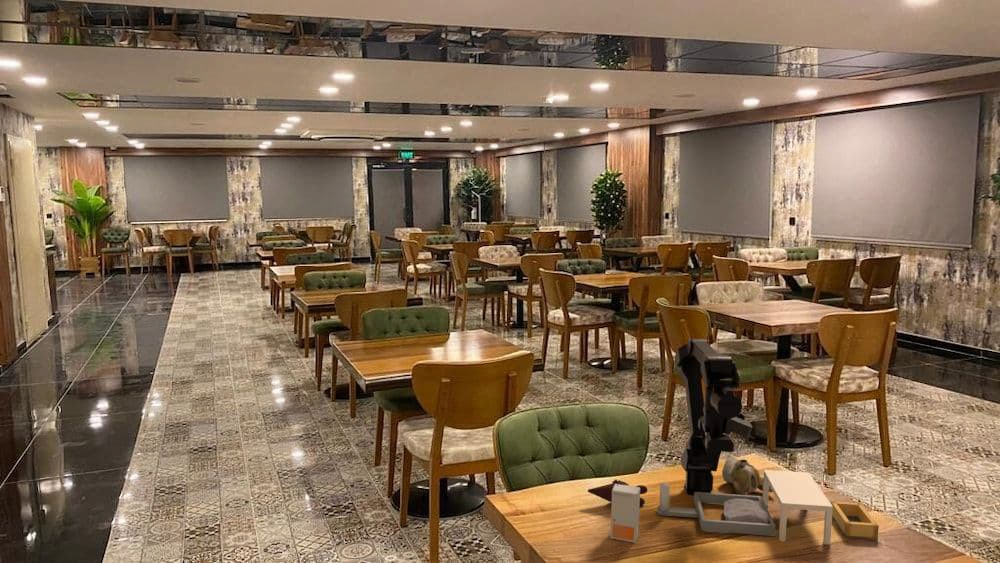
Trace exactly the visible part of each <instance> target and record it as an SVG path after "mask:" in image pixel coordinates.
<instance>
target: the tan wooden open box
mask: <svg viewBox="0 0 1000 563" xmlns="http://www.w3.org/2000/svg"><path fill="white" fill-rule="evenodd" d="M830 503H831V505H832V506H833V510H832V521H834V523H835V525H836V526H837V528H838V529H839V531H840V532H841V534H842V535H843V536H844V538H845V539H853V540H854V539H856V540H868V541H879V539H878V538H879V528H880V527H879V524H878V523H877V521H876V520H875V518H873V517H872V515H871V514H870V513H869V512H868V510H867V509H866V508H865V506H864V505H863V504H862V503H861V502H860V503H859V502H845V501H844V502H843V501H830Z"/></svg>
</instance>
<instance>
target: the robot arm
mask: <svg viewBox="0 0 1000 563" xmlns="http://www.w3.org/2000/svg"><path fill="white" fill-rule="evenodd" d="M674 365H675V367H676V368H677V375H678V376H679V377H680V379H681V380H682V381H683V382H684V388H685V397H686V406H687V407H686V408H687V418H688V426H689V436H688V438H687V441H686V442H685V445H684V450H683V452H682V454H681V456H680V465H681V467H682V469H683V470H684V471H685V483H684V489H685V493H686V494H687V495H694V492H705V493H712V491H713V490H714V475H713V473H712V472H717V471H718V467H719V461H720V456H721V455H722V452H725V453H733V452H735V443H734V441H733V439H732V438H731V437H730V436H729V435H731V432H732V433H733V434H736V435H738V436H740V437H742V438H743V439H746V440H747V439H748V438H749V436H750V434H751V433H752V430H753V425H752V424H751V422H749V420H748V419H746V418H745V414H744V413H742V409H743V405H742V401H741V399H740V398H739V397H738V396H737V395H736V394H735V390H734V389H735V388H736V389H739V388H740V387H739V386H740V381H741V379H740V376H739V372H738V368H737V365H736V362H735V360H733V358H732V357H731V356H730V355H728V354H724V353H718V352H717V351H716V350H715V349H714V348H713V347H712V346H711V345H710V344H709V340H708V339H705V338H691V339H688V340H687V342H686V343H685V344H683V345H682V346H680V347H678V348H677V350H676V352H675V355H674ZM702 380H703V381H702ZM703 383H704V386H705V387H704V388H703ZM703 389H704V390H703ZM703 391H704V392H703Z"/></svg>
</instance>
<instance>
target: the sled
mask: <svg viewBox="0 0 1000 563" xmlns="http://www.w3.org/2000/svg"><path fill="white" fill-rule="evenodd" d="M670 493H671V484H670V483H668V482H660V485H659V501H658V502H659V503H658V504H659V505H658V506H657V514H658V516H666V517H667V516H668V517H682V518H695V519H696V518H698V521H699V525H700V529H701V531H702V532H715V533H727V534H729V533H730V534H741V535H742V534H744V535H756V536H757V535H758V536H767V537H769V536H771V537H775V536H776V527H777V526H776V523H775V522H774V520H773V518H772V516H771V514H770V512H769V509H768V508H767V507H768V506H766V505H765V503H764V501H763V499H762V497H763V496H761V495H749V494H748V495H739V494H734V493H733V494H731V493H716V492H711V493H705V492H694V494H693V495H694V496H693V497H694V498H693V501H694V506H695V508H692V507H680V506H679V507H678V506H677V507H676V506H670V499H671V498H670ZM732 499H747V500H752V501H761V503H762V507H763V509H764V510H765V511H766V512H767V514H768V517H769V524H763V523H749V522H735V521H726V520H718V519H708V518H707V519H706V517H705V513H704V509H703V507H702V504H715V505H724V502H725V501H728V500H732Z"/></svg>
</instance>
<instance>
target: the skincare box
mask: <svg viewBox="0 0 1000 563" xmlns="http://www.w3.org/2000/svg"><path fill="white" fill-rule="evenodd" d="M640 498H641V494H640V487H635V486H633V485H620V484H615V485H614V488H613V490H612V502H611V505H610V506H611V510H610V540H611V539H612V540H619V541H623V542H624V541H625V542H629V543H634V544H636V542H637V539H638V536H639V528H640V527H639V526H640V506H641V505H640Z"/></svg>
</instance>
